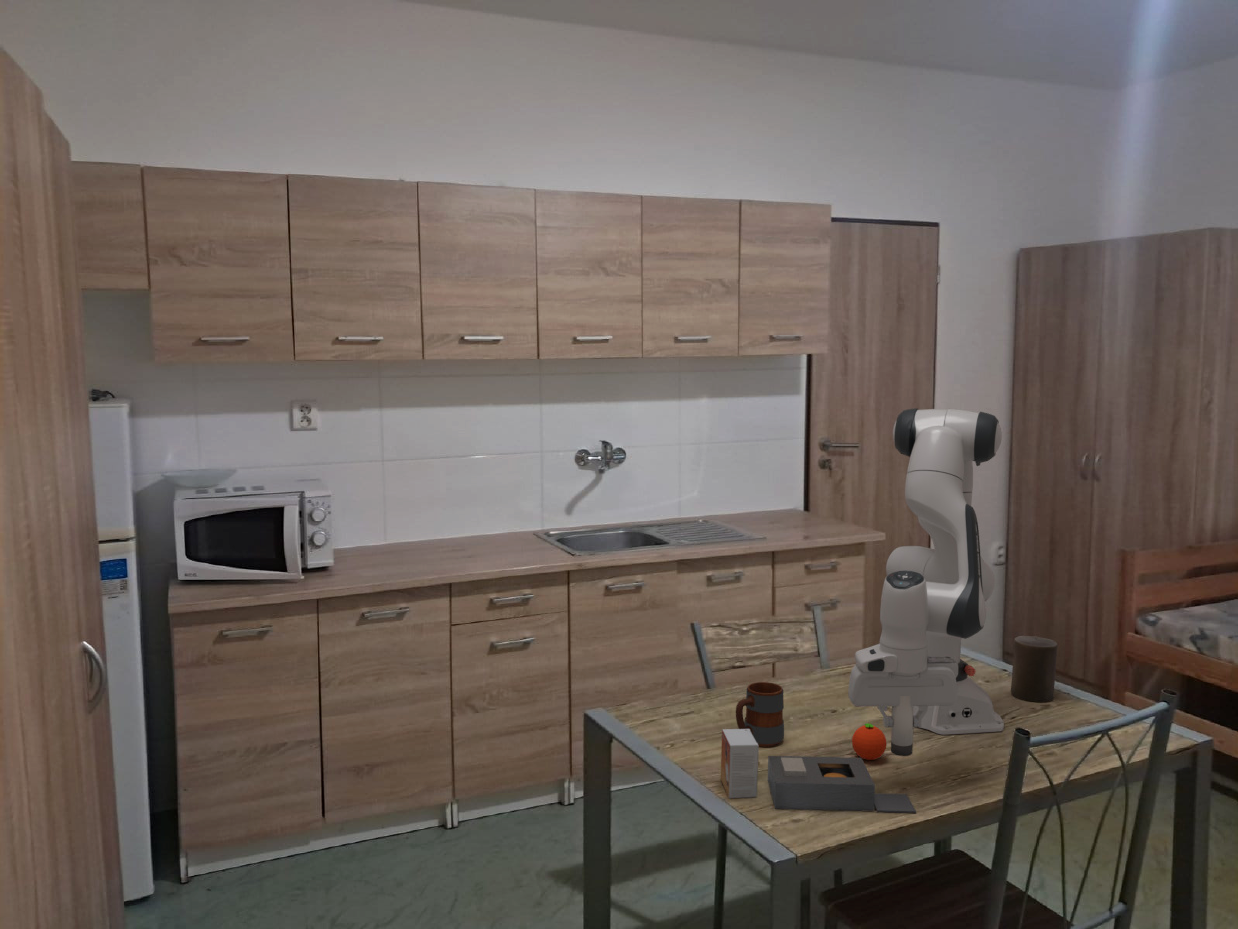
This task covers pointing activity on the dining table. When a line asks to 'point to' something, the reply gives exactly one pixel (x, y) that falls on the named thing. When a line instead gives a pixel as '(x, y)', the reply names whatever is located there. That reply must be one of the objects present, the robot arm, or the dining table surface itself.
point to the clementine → (869, 742)
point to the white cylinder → (902, 728)
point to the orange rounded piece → (834, 775)
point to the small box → (739, 763)
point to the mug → (763, 713)
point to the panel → (820, 783)
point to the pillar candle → (1034, 668)
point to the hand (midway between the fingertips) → (902, 726)
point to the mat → (893, 803)
